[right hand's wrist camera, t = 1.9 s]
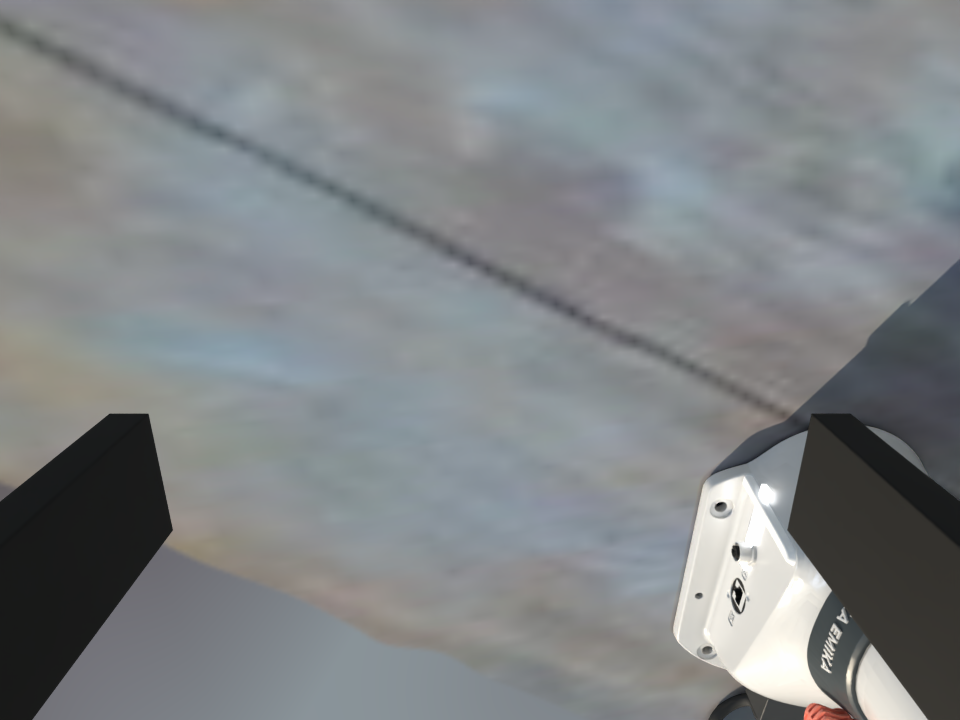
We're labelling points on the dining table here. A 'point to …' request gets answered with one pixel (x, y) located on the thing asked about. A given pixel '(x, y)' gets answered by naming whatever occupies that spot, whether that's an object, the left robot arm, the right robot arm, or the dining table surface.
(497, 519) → the dining table surface
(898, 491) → the right robot arm
